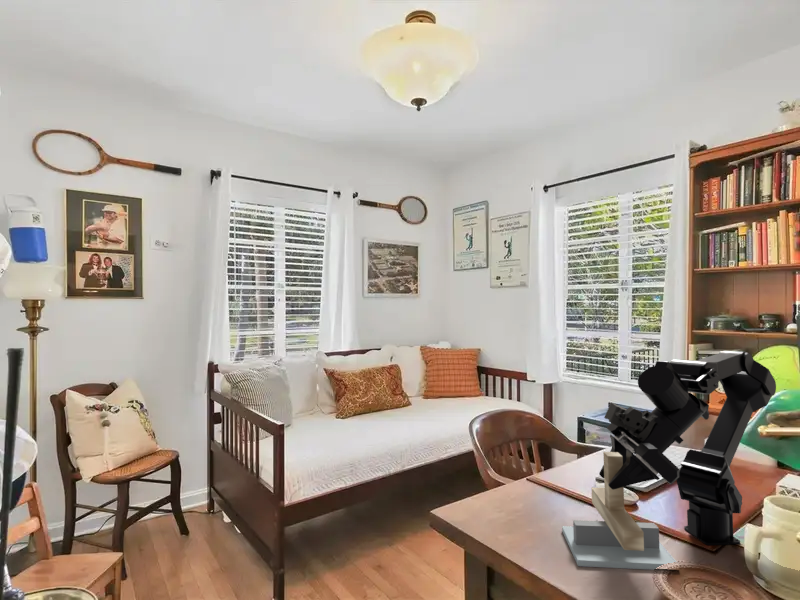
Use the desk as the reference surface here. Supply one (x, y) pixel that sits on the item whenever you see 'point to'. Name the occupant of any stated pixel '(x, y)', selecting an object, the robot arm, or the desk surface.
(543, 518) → the desk surface
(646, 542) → the stand
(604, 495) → the t bar
